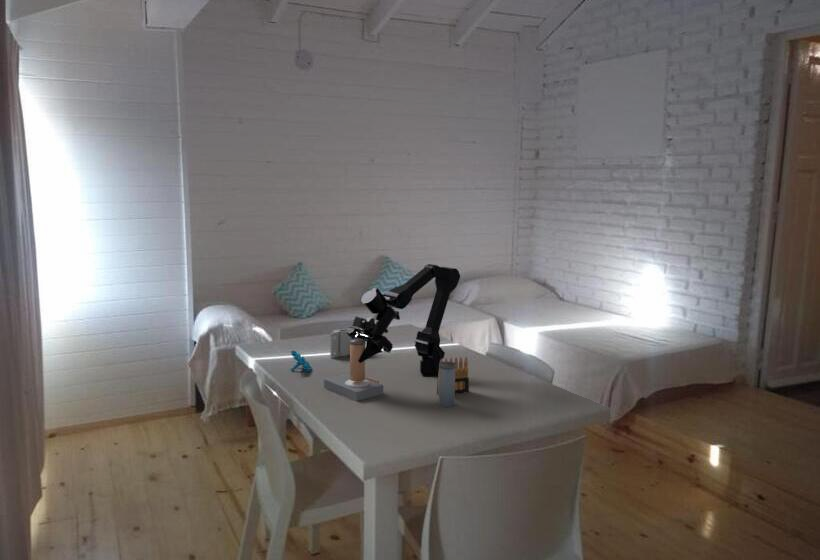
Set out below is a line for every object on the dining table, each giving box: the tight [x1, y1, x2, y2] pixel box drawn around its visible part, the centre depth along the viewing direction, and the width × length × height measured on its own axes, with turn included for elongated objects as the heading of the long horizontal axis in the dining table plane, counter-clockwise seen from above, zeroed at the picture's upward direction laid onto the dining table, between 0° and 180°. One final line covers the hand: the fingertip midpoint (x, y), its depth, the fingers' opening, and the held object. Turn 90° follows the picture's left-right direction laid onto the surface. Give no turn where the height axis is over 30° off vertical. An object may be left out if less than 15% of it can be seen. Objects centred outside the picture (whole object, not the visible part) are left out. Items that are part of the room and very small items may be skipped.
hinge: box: [329, 328, 362, 359], centre depth 263 cm, size 14×5×10 cm, turn 123°
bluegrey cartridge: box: [438, 361, 456, 408], centre depth 206 cm, size 5×5×13 cm
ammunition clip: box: [436, 356, 470, 396], centre depth 218 cm, size 11×2×12 cm, turn 110°
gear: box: [290, 350, 313, 372], centre depth 242 cm, size 11×6×10 cm
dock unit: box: [323, 372, 384, 402], centre depth 219 cm, size 12×18×4 cm, turn 42°
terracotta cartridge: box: [349, 338, 366, 382], centre depth 216 cm, size 5×5×13 cm
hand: (354, 360), depth 215 cm, fingers closed on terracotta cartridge, 5 cm apart
